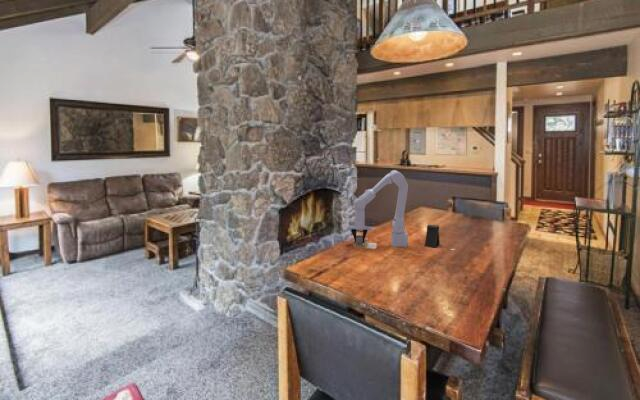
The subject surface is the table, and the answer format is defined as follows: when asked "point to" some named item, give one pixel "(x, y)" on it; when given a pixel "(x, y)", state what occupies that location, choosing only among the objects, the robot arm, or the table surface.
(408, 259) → the table surface
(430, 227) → the phone stand
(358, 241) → the gray block
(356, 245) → the door board
